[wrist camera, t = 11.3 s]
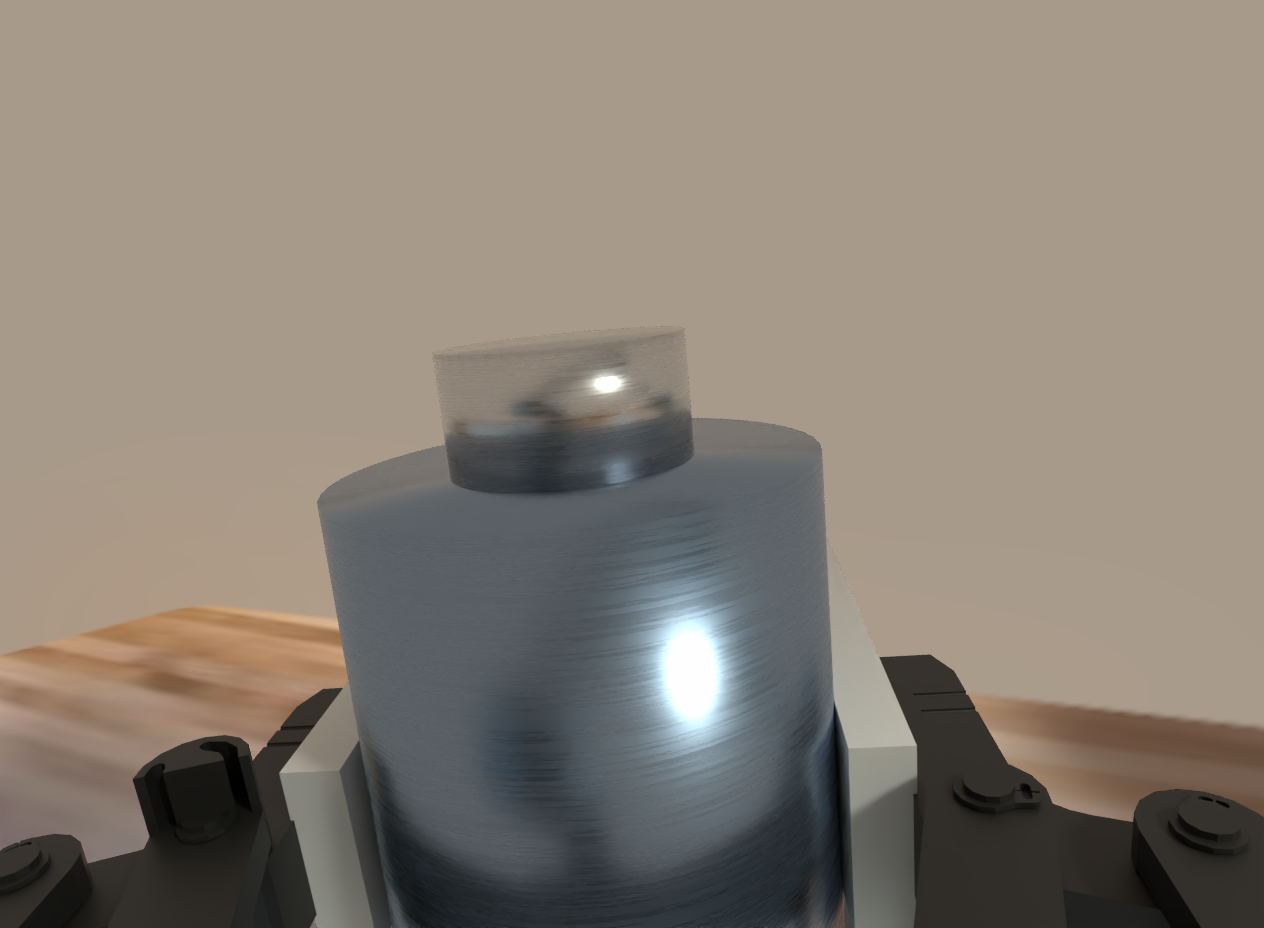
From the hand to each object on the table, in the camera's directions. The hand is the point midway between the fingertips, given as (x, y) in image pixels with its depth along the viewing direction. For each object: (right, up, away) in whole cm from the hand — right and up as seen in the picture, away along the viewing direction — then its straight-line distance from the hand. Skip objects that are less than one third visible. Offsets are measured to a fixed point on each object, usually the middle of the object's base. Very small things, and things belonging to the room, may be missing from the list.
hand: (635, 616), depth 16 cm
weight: (0, -8, -4) cm, 9 cm away
